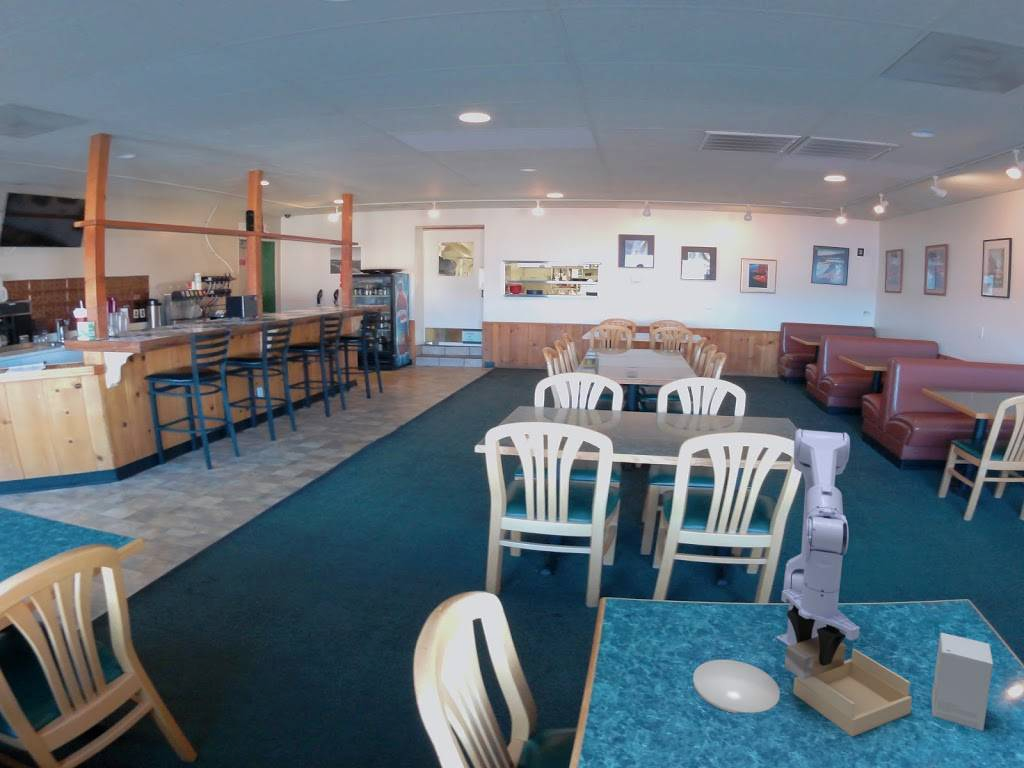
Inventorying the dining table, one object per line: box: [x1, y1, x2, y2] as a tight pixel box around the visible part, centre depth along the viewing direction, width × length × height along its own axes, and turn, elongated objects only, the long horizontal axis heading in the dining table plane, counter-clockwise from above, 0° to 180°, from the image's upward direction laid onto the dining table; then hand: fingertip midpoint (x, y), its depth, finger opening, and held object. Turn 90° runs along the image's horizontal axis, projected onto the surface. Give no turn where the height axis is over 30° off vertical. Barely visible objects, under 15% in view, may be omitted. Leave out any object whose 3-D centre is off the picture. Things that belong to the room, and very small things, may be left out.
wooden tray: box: [792, 648, 913, 737], centre depth 116 cm, size 14×12×6 cm
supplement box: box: [931, 632, 994, 731], centre depth 113 cm, size 7×7×13 cm
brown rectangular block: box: [784, 636, 847, 680], centre depth 117 cm, size 10×4×4 cm, turn 115°
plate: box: [692, 659, 781, 715], centre depth 121 cm, size 15×15×1 cm
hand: (814, 656), depth 116 cm, fingers closed on brown rectangular block, 4 cm apart
